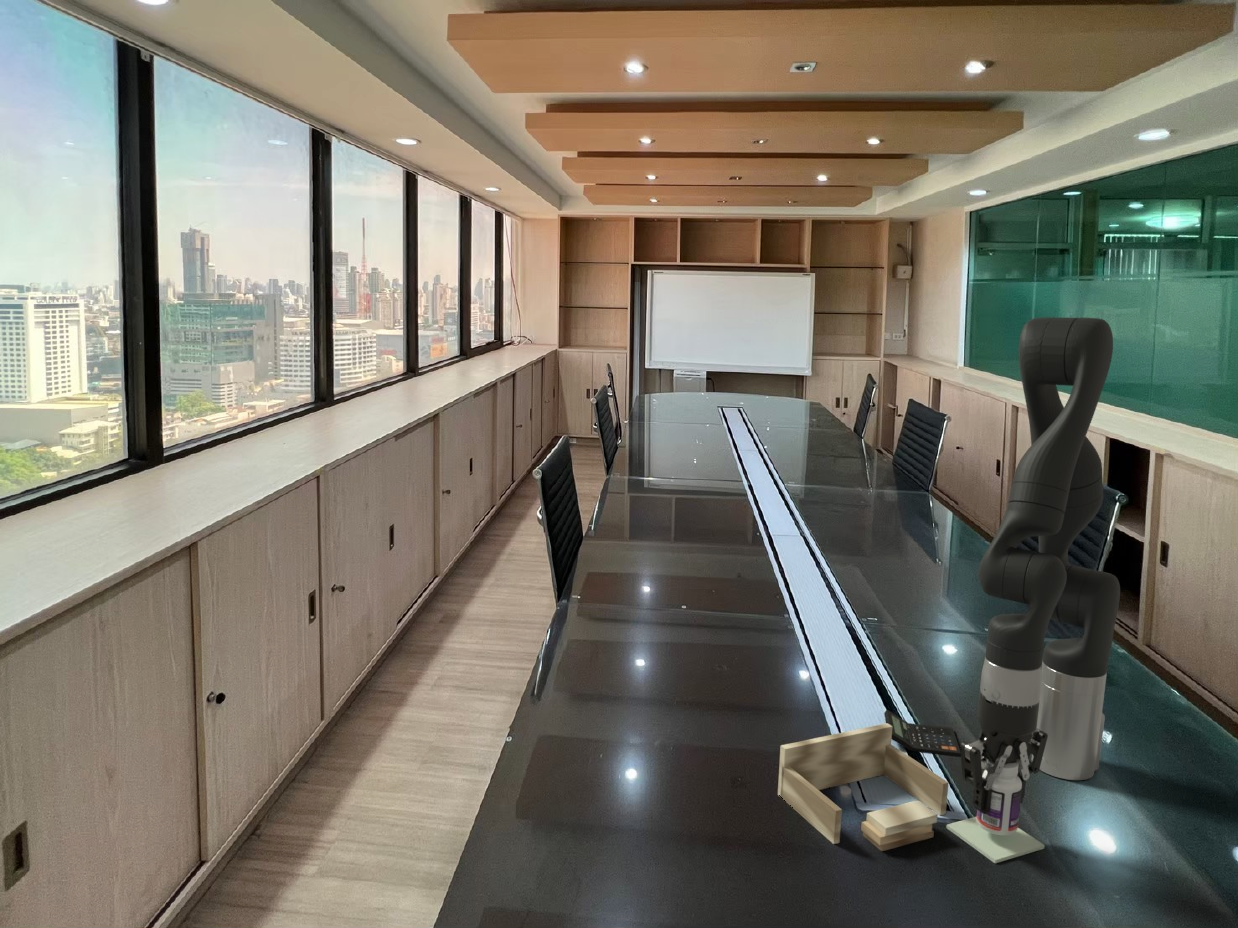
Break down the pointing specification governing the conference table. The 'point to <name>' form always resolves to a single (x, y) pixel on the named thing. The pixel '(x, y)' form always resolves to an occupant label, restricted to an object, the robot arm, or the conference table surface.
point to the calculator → (923, 736)
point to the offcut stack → (899, 825)
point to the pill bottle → (1003, 802)
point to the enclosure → (850, 773)
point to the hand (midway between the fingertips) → (997, 805)
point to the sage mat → (994, 841)
